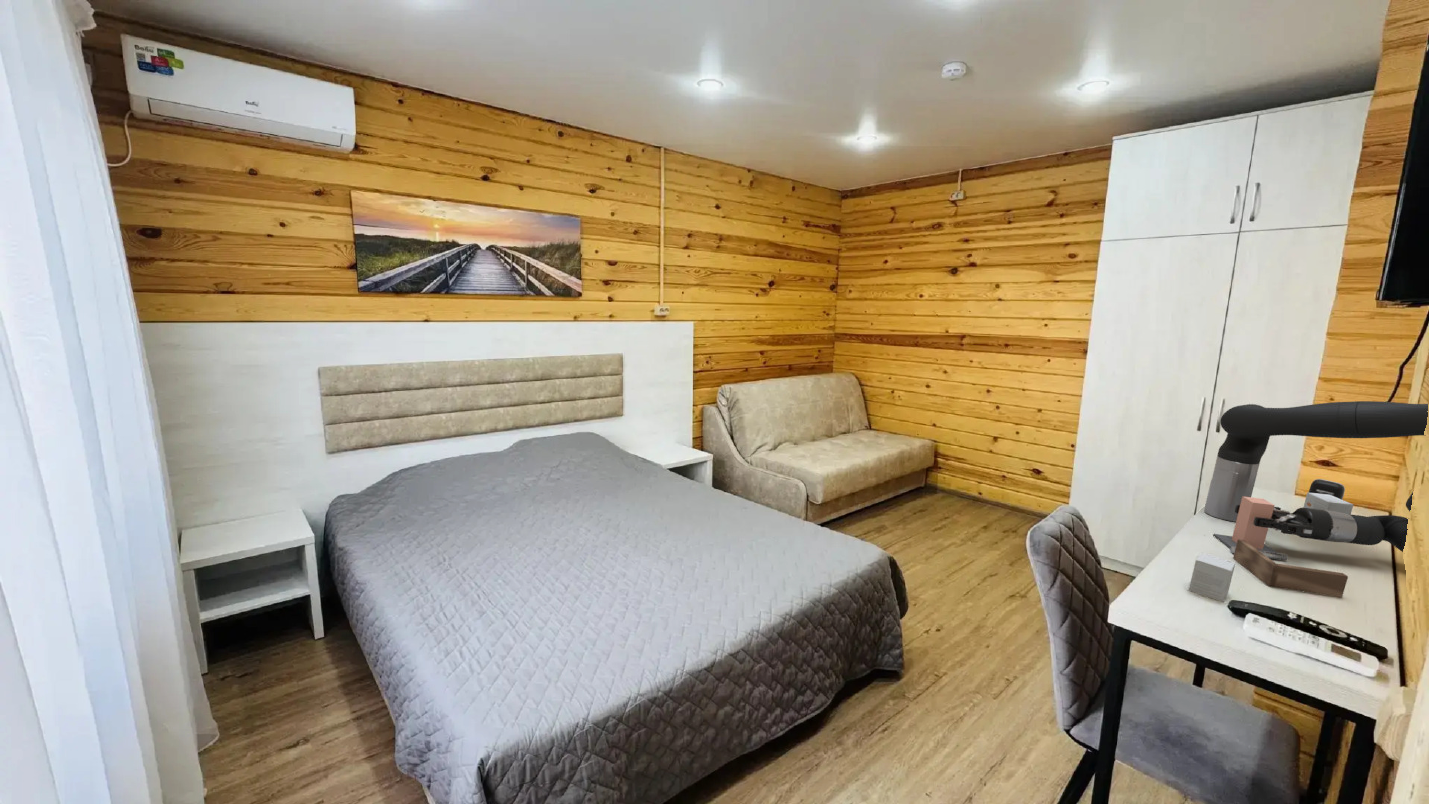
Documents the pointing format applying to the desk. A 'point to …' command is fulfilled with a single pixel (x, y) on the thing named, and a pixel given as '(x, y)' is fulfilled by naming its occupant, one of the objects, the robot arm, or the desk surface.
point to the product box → (1212, 576)
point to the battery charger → (1327, 488)
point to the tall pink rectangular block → (1252, 521)
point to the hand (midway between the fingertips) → (1245, 515)
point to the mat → (1230, 543)
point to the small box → (1327, 503)
